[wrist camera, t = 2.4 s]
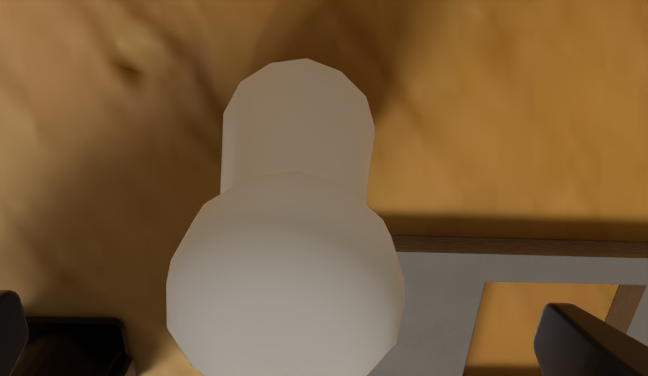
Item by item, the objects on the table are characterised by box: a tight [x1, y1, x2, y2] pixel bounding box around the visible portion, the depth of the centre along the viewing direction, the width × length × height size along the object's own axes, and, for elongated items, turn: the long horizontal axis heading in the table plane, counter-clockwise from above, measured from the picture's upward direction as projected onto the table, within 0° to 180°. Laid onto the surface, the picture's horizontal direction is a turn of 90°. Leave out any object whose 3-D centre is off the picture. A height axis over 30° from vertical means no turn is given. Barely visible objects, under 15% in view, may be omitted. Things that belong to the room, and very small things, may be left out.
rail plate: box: [367, 235, 648, 376], centre depth 23 cm, size 20×11×2 cm, turn 87°
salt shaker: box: [166, 58, 405, 376], centre depth 13 cm, size 6×6×13 cm
